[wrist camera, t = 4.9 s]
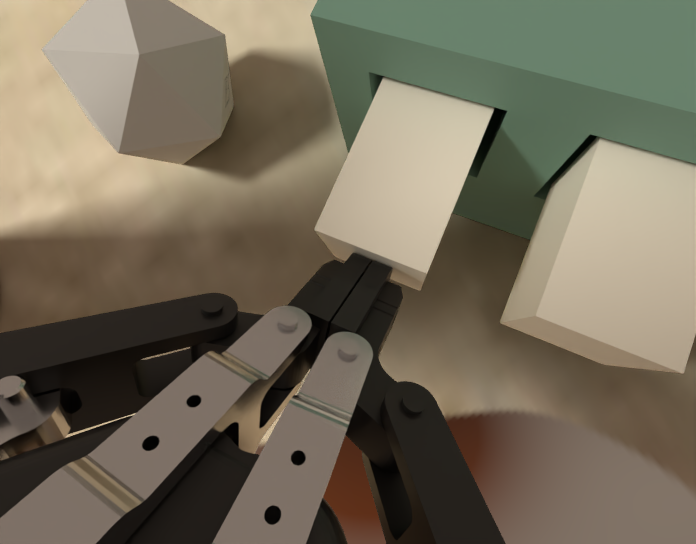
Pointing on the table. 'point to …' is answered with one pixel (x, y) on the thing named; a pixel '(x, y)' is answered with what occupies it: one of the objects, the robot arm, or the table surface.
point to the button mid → (614, 260)
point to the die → (146, 76)
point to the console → (523, 82)
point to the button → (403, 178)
